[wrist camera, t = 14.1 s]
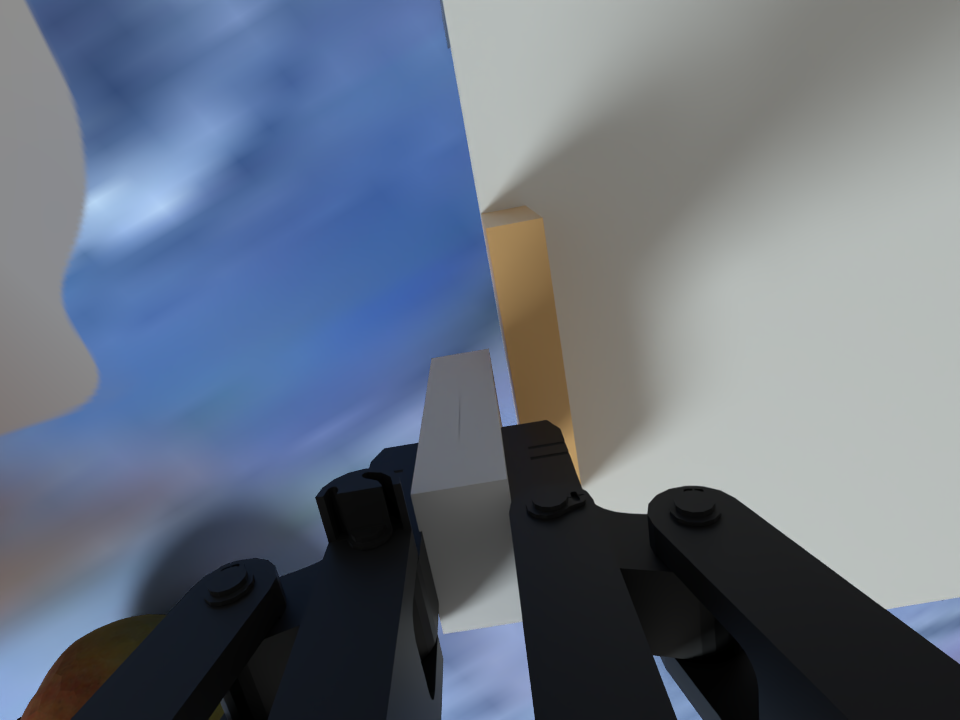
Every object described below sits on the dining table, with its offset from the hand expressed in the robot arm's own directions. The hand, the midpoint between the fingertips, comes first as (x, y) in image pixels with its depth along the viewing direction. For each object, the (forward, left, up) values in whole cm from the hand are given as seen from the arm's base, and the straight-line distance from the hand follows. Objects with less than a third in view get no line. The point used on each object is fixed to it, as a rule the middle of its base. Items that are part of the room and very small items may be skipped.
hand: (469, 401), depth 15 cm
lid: (0, +10, -3) cm, 10 cm away
